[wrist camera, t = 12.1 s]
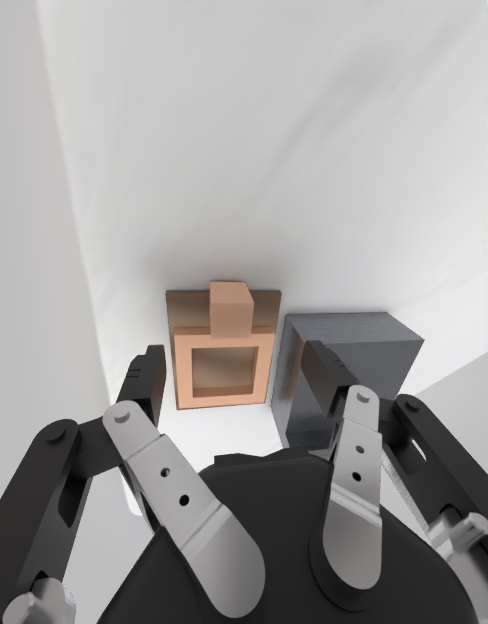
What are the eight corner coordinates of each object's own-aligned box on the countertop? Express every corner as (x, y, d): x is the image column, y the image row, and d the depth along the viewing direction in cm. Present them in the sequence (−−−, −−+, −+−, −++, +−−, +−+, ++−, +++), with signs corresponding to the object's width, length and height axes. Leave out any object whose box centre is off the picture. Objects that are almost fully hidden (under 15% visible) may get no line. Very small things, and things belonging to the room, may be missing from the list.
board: (166, 290, 21) (165, 293, 20) (279, 290, 22) (281, 293, 22) (177, 405, 27) (176, 410, 27) (263, 399, 29) (265, 403, 28)
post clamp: (286, 314, 24) (484, 628, 7) (386, 312, 25) (730, 558, 9) (268, 418, 31) (347, 696, 14) (348, 410, 32) (500, 649, 16)
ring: (172, 280, 20) (166, 302, 16) (279, 282, 21) (294, 303, 18) (179, 399, 26) (176, 433, 22) (261, 394, 27) (270, 425, 24)
